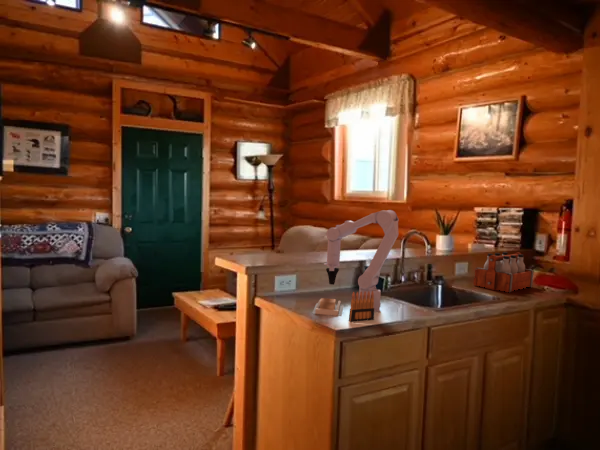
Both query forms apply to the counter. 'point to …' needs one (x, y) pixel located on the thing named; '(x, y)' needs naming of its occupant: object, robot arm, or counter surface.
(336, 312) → the bay
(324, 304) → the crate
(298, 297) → the counter surface
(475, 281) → the milk bottle holder
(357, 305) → the ammunition clip
